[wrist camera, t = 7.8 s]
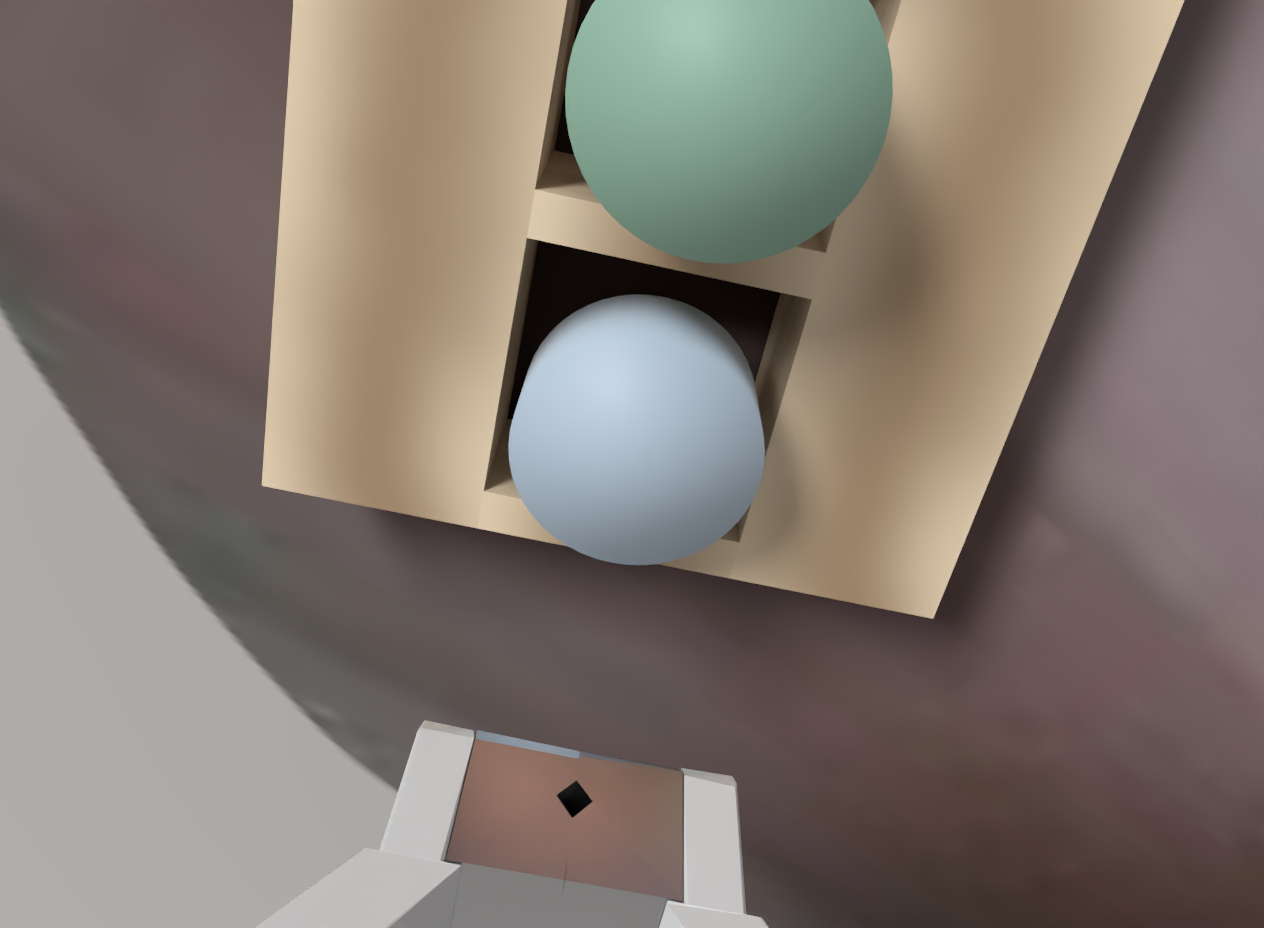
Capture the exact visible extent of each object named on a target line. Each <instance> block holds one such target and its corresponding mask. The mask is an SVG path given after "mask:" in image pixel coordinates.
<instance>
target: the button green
mask: <svg viewBox="0 0 1264 928" xmlns="http://www.w3.org/2000/svg"><path fill="white" fill-rule="evenodd" d="M892 98H893V84H892V68H891V61H890V54H889V49H888V46H887V42H886V39H885V35H884V31H883V29H882V26H881V24H880V22H879V19H878V17H877V15H876V12H875V10H874V8H873V6H872V5H871V3H870V1H869V0H595V1H594V3H593V4H592V6H591V8H590V9H589V11H588V13H587V15H586V17H585V19H584V21H583V23H582V24H581V27H580V29H579V32H578V35H577V37H576V40H575V43H574V45H573V49H572V53H571V57H570V61H569V65H568V71H567V80H566V89H565V107H566V119H567V126H568V133H569V138H570V141H571V145H572V149H573V152H574V156H575V158H576V161H577V163H578V165H579V168H580V170H581V173H582V175H583V177H584V178H585V180H586V182H587V184H588V185H589V187H590V189H591V191H592V192H593V194H594V195H595V197H596V198H597V199H598V201H599V202H600V203H601V204H602V206H603V207H604V208H605V210H606V211H607V212H608V213H609V214H610V215H611V216H612V217H613V218H614V219H615V220H616V221H617V222H618V223H619V224H620V225H621V226H623V227H624V228H625V229H627V230H628V231H629V232H630V233H632V234H633V235H634V236H635V237H637V238H639V239H640V240H642V241H644V242H646V243H647V244H649V245H651V246H652V247H654V248H657V249H659V250H661V251H664V252H666V253H668V254H671V255H674V256H677V257H681V258H684V259H688V260H692V261H699V262H706V263H727V264H731V263H740V262H750V261H754V260H758V259H763V258H767V257H771V256H773V255H776V254H779V253H781V252H784V251H787V250H789V249H791V248H793V247H795V246H797V245H799V244H801V243H803V242H805V241H807V240H808V239H810V238H811V237H813V236H814V235H816V234H817V233H818V232H820V231H821V230H823V229H824V228H825V227H827V226H828V225H829V224H830V223H831V222H832V221H833V220H834V219H836V218H837V217H838V216H839V215H840V214H841V213H842V212H843V211H844V210H845V209H846V207H847V206H848V205H849V204H850V203H851V202H852V201H853V199H854V198H855V197H856V196H857V194H858V193H859V191H860V190H861V188H862V187H863V185H864V184H865V182H866V181H867V179H868V177H869V176H870V174H871V172H872V170H873V168H874V166H875V164H876V162H877V160H878V157H879V155H880V152H881V149H882V147H883V144H884V141H885V138H886V134H887V130H888V125H889V121H890V116H891V107H892Z"/></svg>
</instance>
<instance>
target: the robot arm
mask: <svg viewBox="0 0 1264 928" xmlns="http://www.w3.org/2000/svg"><path fill="white" fill-rule="evenodd" d="M254 928H769V926H768V925H767V924H766V922H765V921H764V920H763V918H761V917H756V916H750V915H746V904H745V890H744V876H743V862H742V848H741V834H740V819H739V805H738V791H737V784H736V782H735V780H734V778H733V777H732V776H727V775H721V774H715V773H709V772H703V771H697V770H690V769H684V768H682V769H681V770H679V769H678V768H673V767H667V766H662V765H656V764H650V763H645V762H639V761H633V760H627V759H622V758H616V757H610V756H604V755H599V754H593V753H587V752H581V751H576V750H571V749H566V748H561V747H556V746H551V745H547V744H542V743H537V742H532V741H527V740H522V739H517V738H513V737H508V736H503V735H498V734H493V733H488V732H484V731H479V730H478V731H477V734H476V732H475V731H473V730H469V729H464V728H459V727H454V726H449V725H444V724H440V723H435V722H430V721H425V720H424V722H423V723H422V725H421V726H420V728H419V730H418V731H417V734H416V738H415V741H414V744H413V747H412V750H411V753H410V756H409V759H408V763H407V766H406V769H405V772H404V775H403V778H402V781H401V784H400V788H399V791H398V794H397V797H396V800H395V803H394V806H393V810H392V813H391V816H390V819H389V822H388V825H387V828H386V831H385V835H384V838H383V841H382V844H381V847H380V850H373V849H367V848H362V849H361V850H360V851H358V852H357V853H356V854H354V855H353V856H351V857H350V858H349V859H347V860H346V861H345V862H343V863H342V864H340V865H339V866H338V867H336V868H335V869H334V870H332V871H331V872H329V873H328V874H327V875H325V876H324V877H323V878H321V879H320V880H318V881H317V882H316V883H314V884H313V885H312V886H310V887H309V888H307V889H306V890H305V891H303V892H302V893H301V894H299V895H298V896H297V897H295V898H294V899H292V900H291V901H290V902H288V903H287V904H286V905H284V906H283V907H281V908H280V909H279V910H277V911H276V912H275V913H273V914H272V915H270V916H269V917H268V918H266V919H265V920H264V921H262V922H261V923H259V924H258V925H257V926H255V927H254Z"/></svg>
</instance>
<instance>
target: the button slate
mask: <svg viewBox="0 0 1264 928" xmlns="http://www.w3.org/2000/svg"><path fill="white" fill-rule="evenodd" d="M508 449H509V463H510V468H511V473H512V477H513V480H514V483H515V486H516V489H517V491H518V493H519V495H520V497H521V499H522V501H523V503H524V504H525V506H526V507H527V509H528V510H529V512H530V513H531V515H532V516H533V517H534V518H535V519H536V520H537V521H538V523H539V524H540V525H541V526H542V527H543V528H544V529H545V530H547V531H548V532H549V533H550V534H551V535H552V536H553V537H555V538H556V539H558V540H559V541H561V542H562V543H564V544H565V545H566V546H568V547H570V548H572V549H574V550H576V551H578V552H580V553H582V554H585V555H587V556H590V557H593V558H595V559H599V560H603V561H607V562H611V563H618V564H625V565H650V564H660V563H665V562H670V561H675V560H678V559H681V558H684V557H687V556H690V555H692V554H694V553H696V552H699V551H701V550H703V549H705V548H706V547H708V546H710V545H711V544H713V543H714V542H716V541H717V540H719V539H720V538H721V537H722V536H724V535H725V534H726V533H727V532H729V531H730V530H731V529H732V527H733V526H734V525H735V524H736V523H737V522H738V521H739V520H740V519H741V517H742V516H743V515H744V513H745V512H746V511H747V509H748V508H749V506H750V504H751V502H752V500H753V499H754V497H755V495H756V492H757V489H758V487H759V484H760V482H761V477H762V473H763V468H764V457H765V446H764V435H763V429H762V423H761V417H760V411H759V406H758V400H757V394H756V388H755V383H754V379H753V374H752V372H751V369H750V366H749V364H748V361H747V359H746V357H745V355H744V354H743V352H742V350H741V348H740V347H739V345H738V344H737V343H736V341H735V340H734V339H733V337H732V336H731V335H730V334H729V333H728V332H727V331H726V330H725V329H724V328H723V327H722V326H721V325H720V324H719V323H718V322H716V321H715V320H714V319H712V318H711V317H710V316H709V315H707V314H705V313H703V312H702V311H700V310H698V309H697V308H695V307H693V306H690V305H688V304H686V303H683V302H681V301H677V300H674V299H670V298H667V297H661V296H655V295H639V294H632V295H623V296H616V297H611V298H607V299H603V300H600V301H597V302H595V303H592V304H589V305H587V306H585V307H583V308H581V309H579V310H577V311H576V312H574V313H572V314H571V315H570V316H568V317H567V318H565V319H564V320H563V321H561V322H560V323H559V324H558V325H557V326H556V327H555V328H554V329H553V330H552V331H551V332H550V333H549V334H548V335H547V337H546V338H545V339H544V340H543V342H542V343H541V345H540V346H539V348H538V350H537V351H536V353H535V355H534V357H533V359H532V361H531V364H530V366H529V369H528V372H527V375H526V378H525V381H524V384H523V388H522V391H521V394H520V397H519V400H518V403H517V406H516V410H515V413H514V416H513V420H512V424H511V428H510V434H509V444H508Z"/></svg>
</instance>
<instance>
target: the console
mask: <svg viewBox="0 0 1264 928" xmlns="http://www.w3.org/2000/svg"><path fill="white" fill-rule="evenodd" d="M869 1H870V3H871V5H872V6H873V8H874V10H875V12H876V15H877V17H878V19H879V22H880V24H881V26H882V29H883V31H884V35H885V39H886V42H887V46H888V49H889V54H890V61H891V68H892V84H893V98H892V107H891V116H890V121H889V125H888V130H887V134H886V138H885V141H884V144H883V147H882V149H881V152H880V155H879V157H878V160H877V162H876V164H875V166H874V168H873V170H872V172H871V174H870V176H869V177H868V179H867V181H866V182H865V184H864V185H863V187H862V188H861V190H860V191H859V193H858V194H857V196H856V197H855V198H854V199H853V201H852V202H851V203H850V204H849V205H848V206H847V207H846V209H845V210H844V211H843V212H842V213H841V214H840V215H839V216H838V217H837V218H836V219H834V220H833V221H832V222H831V223H830V224H829V225H828V226H827V227H825V228H824V229H823V230H821V231H820V232H818V233H817V234H816V235H814V236H813V237H811V238H810V239H808V240H807V241H805V242H803V243H801V244H799V245H797V246H795V247H793V248H791V249H789V250H787V251H784V252H781V253H779V254H776V255H773V256H771V257H767V258H763V259H758V260H754V261H750V262H740V263H731V264H727V263H706V262H699V261H692V260H688V259H684V258H681V257H677V256H674V255H671V254H668V253H666V252H664V251H661V250H659V249H657V248H654V247H652V246H651V245H649V244H647V243H646V242H644V241H642V240H640V239H639V238H637V237H635V236H634V235H633V234H632V233H630V232H629V231H628V230H627V229H625V228H624V227H623V226H621V225H620V224H619V223H618V222H617V221H616V220H615V219H614V218H613V217H612V216H611V215H610V214H609V213H608V212H607V211H606V210H605V208H604V207H603V206H602V204H601V203H600V202H599V201H598V199H597V198H596V197H595V195H594V194H593V192H592V191H591V189H590V187H589V185H588V184H587V182H586V180H585V178H584V177H583V175H582V173H581V170H580V168H579V165H578V163H577V161H576V158H575V156H574V155H573V154H569V153H564V152H560V151H555V144H556V139H557V133H558V127H559V122H560V116H561V110H562V104H563V99H564V93H565V87H566V80H567V71H568V65H569V61H570V57H571V53H572V47H573V42H574V36H575V30H576V25H577V19H578V13H579V8H580V2H581V0H294V2H293V17H292V32H291V48H290V63H289V78H288V94H287V109H286V124H285V139H284V155H283V170H282V185H281V201H280V216H279V231H278V246H277V262H276V277H275V292H274V308H273V323H272V338H271V354H270V369H269V384H268V399H267V415H266V430H265V445H264V461H263V476H262V486H266V487H271V488H276V489H281V490H286V491H291V492H296V493H301V494H306V495H311V496H316V497H321V498H326V499H331V500H337V501H342V502H347V503H352V504H357V505H362V506H367V507H372V508H377V509H382V510H387V511H392V512H397V513H402V514H407V515H412V516H417V517H422V518H427V519H432V520H437V521H442V522H447V523H452V524H458V525H463V526H468V527H473V528H478V529H483V530H488V531H493V532H498V533H503V534H508V535H513V536H518V537H523V538H528V539H533V540H538V541H543V542H548V543H553V544H558V545H563V546H566V545H565V544H564V543H562V542H561V541H559V540H558V539H556V538H555V537H553V536H552V535H551V534H550V533H549V532H548V531H547V530H545V529H544V528H543V527H542V526H541V525H540V524H539V523H538V521H537V520H536V519H535V518H534V517H533V516H532V515H531V513H530V512H529V510H528V509H527V507H526V506H525V504H524V503H523V501H522V499H521V497H520V495H519V493H518V491H517V489H516V486H515V483H514V480H513V477H512V473H511V468H510V463H509V449H508V444H509V434H510V428H511V424H512V420H511V419H507V418H508V412H509V407H510V401H511V395H512V390H513V384H514V378H515V373H516V367H517V361H518V355H519V350H520V344H521V338H522V333H523V327H524V321H525V316H526V310H527V304H528V298H529V293H530V287H531V281H532V276H533V270H534V264H535V258H536V253H537V247H538V241H544V242H548V243H553V244H558V245H562V246H567V247H572V248H576V249H581V250H586V251H590V252H595V253H599V254H604V255H609V256H613V257H618V258H623V259H627V260H632V261H636V262H641V263H646V264H650V265H655V266H660V267H664V268H669V269H674V270H678V271H683V272H687V273H692V274H697V275H701V276H706V277H711V278H715V279H720V280H725V281H729V282H734V283H738V284H743V285H748V286H752V287H757V288H762V289H766V290H771V291H775V292H780V296H779V299H778V303H777V306H776V310H775V313H774V317H773V321H772V324H771V328H770V331H769V335H768V338H767V342H766V345H765V349H764V352H763V356H762V359H761V363H760V366H759V370H758V373H757V377H756V381H755V388H756V394H757V400H758V406H759V411H760V417H761V423H762V429H763V435H764V446H765V457H764V468H763V473H762V477H761V482H760V484H759V487H758V489H757V492H756V495H755V497H754V499H753V500H752V502H751V504H750V506H749V508H748V509H747V511H746V512H745V513H744V515H743V516H742V517H741V519H740V520H739V521H738V522H737V523H736V524H735V525H734V526H733V527H732V529H731V530H730V531H729V532H727V533H726V534H725V535H724V536H722V537H721V538H720V539H719V540H717V541H716V542H714V543H713V544H711V545H710V546H708V547H706V548H705V549H703V550H701V551H699V552H696V553H694V554H692V555H690V556H687V557H684V558H681V559H678V560H675V561H670V562H665V563H660V564H659V565H664V566H669V567H674V568H679V569H684V570H689V571H694V572H699V573H705V574H710V575H715V576H720V577H725V578H730V579H735V580H740V581H745V582H750V583H755V584H760V585H765V586H770V587H775V588H780V589H785V590H790V591H795V592H800V593H805V594H810V595H815V596H820V597H826V598H831V599H836V600H841V601H846V602H851V603H856V604H861V605H866V606H871V607H876V608H881V609H886V610H891V611H896V612H901V613H906V614H911V615H916V616H921V617H926V618H931V619H933V618H934V616H935V613H936V611H937V608H938V606H939V603H940V601H941V599H942V596H943V594H944V591H945V589H946V586H947V584H948V581H949V579H950V576H951V574H952V571H953V569H954V567H955V564H956V562H957V559H958V557H959V554H960V552H961V549H962V547H963V544H964V542H965V539H966V537H967V535H968V532H969V530H970V527H971V525H972V522H973V520H974V517H975V515H976V512H977V510H978V507H979V505H980V503H981V500H982V498H983V495H984V493H985V490H986V488H987V485H988V483H989V480H990V478H991V475H992V473H993V471H994V468H995V466H996V463H997V461H998V458H999V456H1000V453H1001V451H1002V448H1003V446H1004V444H1005V441H1006V439H1007V436H1008V434H1009V431H1010V429H1011V426H1012V424H1013V421H1014V419H1015V416H1016V414H1017V412H1018V409H1019V407H1020V404H1021V402H1022V399H1023V397H1024V394H1025V392H1026V389H1027V387H1028V384H1029V382H1030V380H1031V377H1032V375H1033V372H1034V370H1035V367H1036V365H1037V362H1038V360H1039V357H1040V355H1041V352H1042V350H1043V348H1044V345H1045V343H1046V340H1047V338H1048V335H1049V333H1050V330H1051V328H1052V325H1053V323H1054V321H1055V318H1056V316H1057V313H1058V311H1059V308H1060V306H1061V303H1062V301H1063V298H1064V296H1065V293H1066V291H1067V289H1068V286H1069V284H1070V281H1071V279H1072V276H1073V274H1074V271H1075V269H1076V266H1077V264H1078V261H1079V259H1080V257H1081V254H1082V252H1083V249H1084V247H1085V244H1086V242H1087V239H1088V237H1089V234H1090V232H1091V229H1092V227H1093V225H1094V222H1095V220H1096V217H1097V215H1098V212H1099V210H1100V207H1101V205H1102V202H1103V200H1104V197H1105V195H1106V193H1107V190H1108V188H1109V185H1110V183H1111V180H1112V178H1113V175H1114V173H1115V170H1116V168H1117V166H1118V163H1119V161H1120V158H1121V156H1122V153H1123V151H1124V148H1125V146H1126V143H1127V141H1128V138H1129V136H1130V134H1131V131H1132V129H1133V126H1134V124H1135V121H1136V119H1137V116H1138V114H1139V111H1140V109H1141V106H1142V104H1143V102H1144V99H1145V97H1146V94H1147V92H1148V89H1149V87H1150V84H1151V82H1152V79H1153V77H1154V74H1155V72H1156V70H1157V67H1158V65H1159V62H1160V60H1161V57H1162V55H1163V52H1164V50H1165V47H1166V45H1167V42H1168V40H1169V38H1170V35H1171V33H1172V30H1173V28H1174V25H1175V23H1176V20H1177V18H1178V15H1179V13H1180V11H1181V8H1182V6H1183V3H1184V1H1185V0H869Z"/></svg>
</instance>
